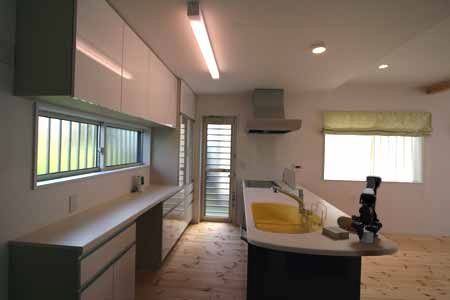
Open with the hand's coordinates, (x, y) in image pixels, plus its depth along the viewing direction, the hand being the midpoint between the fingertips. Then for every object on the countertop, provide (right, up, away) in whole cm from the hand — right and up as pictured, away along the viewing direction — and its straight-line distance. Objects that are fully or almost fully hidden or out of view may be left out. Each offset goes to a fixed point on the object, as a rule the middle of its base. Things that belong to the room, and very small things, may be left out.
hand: (366, 239), depth 141 cm
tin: (+1, -2, +22) cm, 23 cm away
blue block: (0, -1, 0) cm, 1 cm away
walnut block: (-15, -1, +9) cm, 17 cm away
